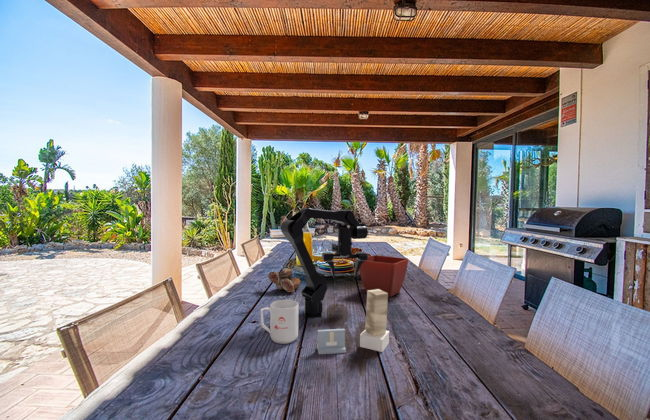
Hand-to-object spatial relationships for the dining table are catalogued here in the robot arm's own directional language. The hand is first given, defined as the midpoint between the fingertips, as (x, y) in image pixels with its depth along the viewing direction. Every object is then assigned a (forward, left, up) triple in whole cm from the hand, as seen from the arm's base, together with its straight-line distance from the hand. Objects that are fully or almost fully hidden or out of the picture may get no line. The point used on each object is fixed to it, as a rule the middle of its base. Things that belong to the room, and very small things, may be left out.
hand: (344, 276), depth 126 cm
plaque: (-12, -36, -13) cm, 40 cm away
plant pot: (+24, +19, -13) cm, 33 cm away
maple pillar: (+2, -34, -9) cm, 35 cm away
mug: (-27, -26, -13) cm, 40 cm away
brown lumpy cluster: (-23, +29, -13) cm, 39 cm away
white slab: (+2, -34, -13) cm, 37 cm away
